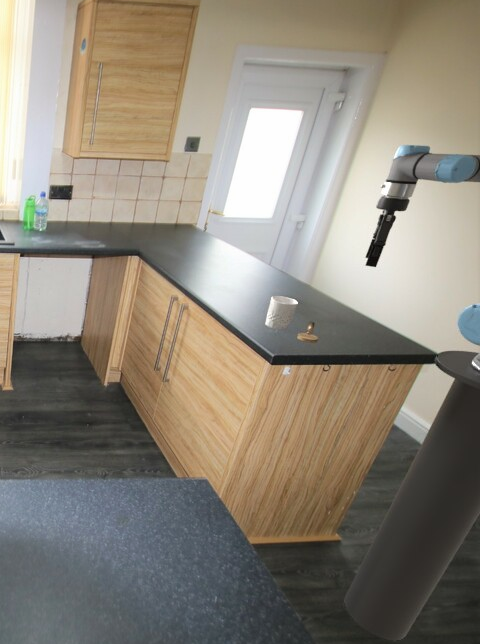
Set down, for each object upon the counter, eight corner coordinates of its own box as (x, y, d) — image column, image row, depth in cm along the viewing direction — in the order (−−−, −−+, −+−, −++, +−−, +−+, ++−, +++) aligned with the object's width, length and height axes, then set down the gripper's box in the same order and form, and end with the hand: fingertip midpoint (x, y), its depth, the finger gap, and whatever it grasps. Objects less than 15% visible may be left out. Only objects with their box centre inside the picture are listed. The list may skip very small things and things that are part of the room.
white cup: (284, 323, 170) (293, 297, 166) (291, 332, 164) (301, 305, 159) (260, 320, 172) (268, 294, 168) (266, 329, 165) (275, 302, 161)
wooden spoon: (302, 323, 172) (303, 319, 171) (320, 327, 169) (322, 323, 168) (296, 339, 158) (297, 335, 157) (316, 344, 154) (318, 340, 154)
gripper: (379, 192, 160) (356, 253, 169) (381, 199, 142) (355, 267, 150) (407, 194, 156) (383, 257, 164) (413, 202, 138) (386, 272, 146)
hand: (370, 262), depth 157 cm, fingers open, 13 cm apart
